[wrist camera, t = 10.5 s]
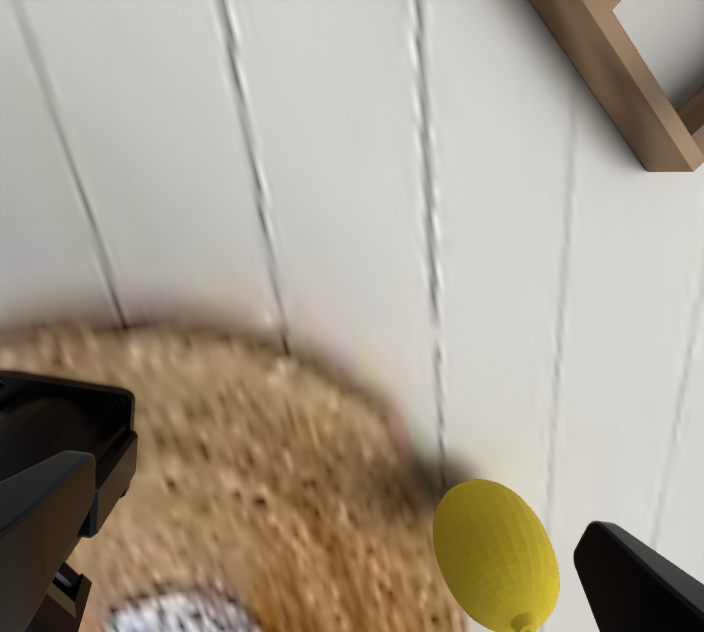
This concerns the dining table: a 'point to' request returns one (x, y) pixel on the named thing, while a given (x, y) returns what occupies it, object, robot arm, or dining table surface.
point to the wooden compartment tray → (627, 85)
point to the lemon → (495, 556)
